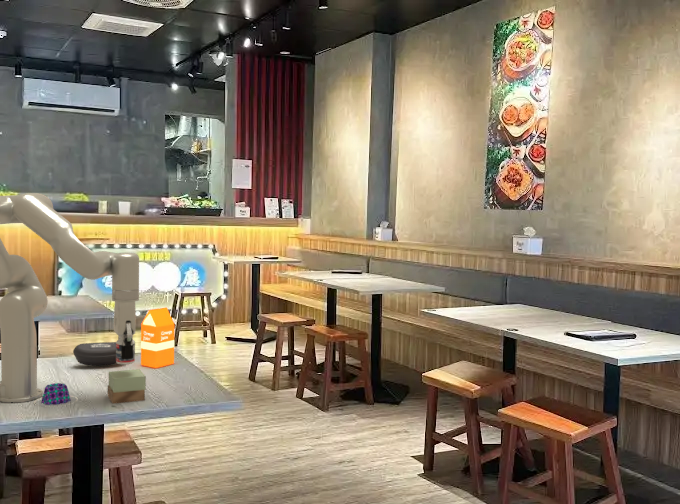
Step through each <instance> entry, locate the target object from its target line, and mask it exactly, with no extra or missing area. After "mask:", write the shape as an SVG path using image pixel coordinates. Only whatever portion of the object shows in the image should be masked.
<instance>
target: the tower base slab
mask: <svg viewBox="0 0 680 504" xmlns="http://www.w3.org/2000/svg"><path fill="white" fill-rule="evenodd" d="M145 392H146V390H137V391H127V392H116V393H114V392H113V391H112V389H111V388H110V386H109V384H108V385H107V398H108V399H109V401H110V402H111V403H112V404H122V403H131V402H140V401H142V402H143V401H145V400H146V399H145V396H146V395H145Z"/></svg>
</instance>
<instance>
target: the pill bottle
mask: <svg viewBox="0 0 680 504" xmlns="http://www.w3.org/2000/svg"><path fill="white" fill-rule="evenodd" d="M124 335H127V333H124ZM133 337H134V335H132V338H133ZM125 338H127V337H125ZM115 342H116V363H117V364H118V365H131V364H134V363H135V361H136V341H135V340H134V338H133V358H132V359H122V358H121V345H122V334H121V335H120V336H119V340H118V339H117V341H115Z"/></svg>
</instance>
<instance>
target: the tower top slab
mask: <svg viewBox="0 0 680 504" xmlns="http://www.w3.org/2000/svg"><path fill="white" fill-rule="evenodd" d="M146 380H147V378H146V375H145V374H144V373H143V371H142V370H141V369H140V368H138V369H127V370H114V371H113V370H111V371H108V385H109V386H110V388H111V389H112V391H113V392H114V393H116V392H127V391H137V390H145V391H146V386H147V382H146Z"/></svg>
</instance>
